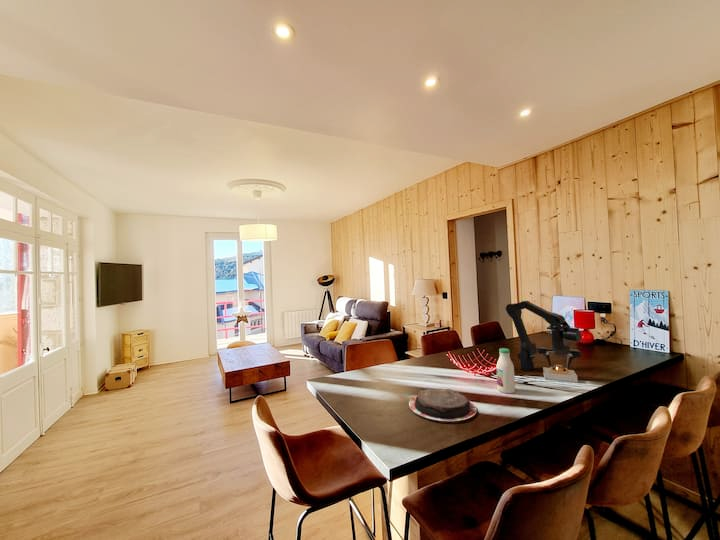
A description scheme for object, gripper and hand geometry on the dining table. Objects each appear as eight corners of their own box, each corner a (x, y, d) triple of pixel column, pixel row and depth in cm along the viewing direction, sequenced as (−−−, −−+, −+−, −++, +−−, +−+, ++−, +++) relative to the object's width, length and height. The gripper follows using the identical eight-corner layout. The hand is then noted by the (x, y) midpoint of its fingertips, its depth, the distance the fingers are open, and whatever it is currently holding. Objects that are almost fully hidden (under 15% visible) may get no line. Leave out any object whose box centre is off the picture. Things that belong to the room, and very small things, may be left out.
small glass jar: (555, 377, 153) (554, 366, 154) (554, 375, 157) (554, 364, 157) (564, 378, 151) (564, 367, 152) (563, 376, 155) (562, 365, 155)
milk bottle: (514, 388, 141) (512, 347, 142) (515, 394, 134) (513, 351, 135) (497, 386, 145) (495, 346, 145) (497, 392, 138) (495, 350, 138)
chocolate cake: (439, 390, 143) (438, 377, 143) (491, 411, 119) (490, 395, 119) (395, 405, 127) (395, 390, 128) (445, 432, 104) (444, 414, 104)
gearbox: (545, 379, 153) (544, 370, 153) (543, 373, 162) (542, 365, 162) (577, 383, 146) (577, 373, 147) (573, 377, 155) (573, 368, 155)
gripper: (538, 340, 152) (539, 370, 152) (582, 343, 143) (584, 374, 143) (536, 336, 162) (538, 364, 161) (578, 338, 153) (579, 368, 153)
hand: (559, 367), depth 154 cm, fingers open, 7 cm apart
